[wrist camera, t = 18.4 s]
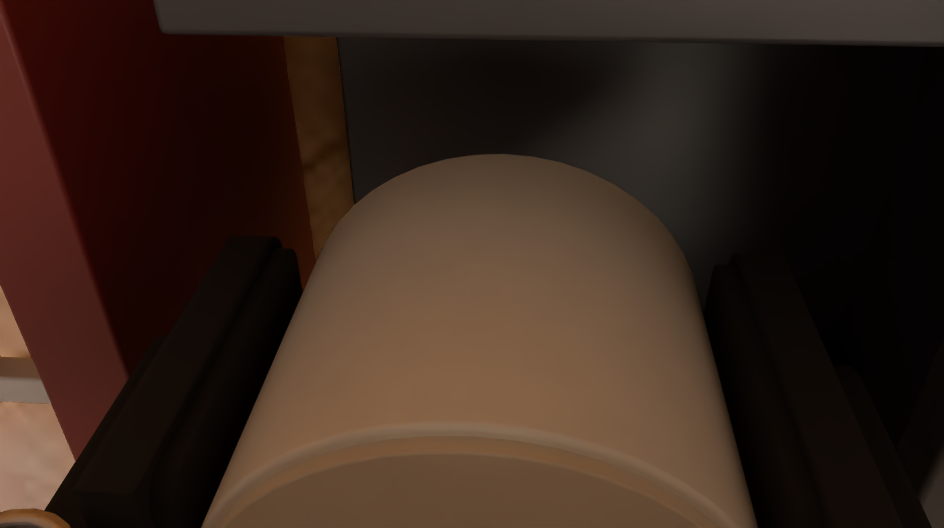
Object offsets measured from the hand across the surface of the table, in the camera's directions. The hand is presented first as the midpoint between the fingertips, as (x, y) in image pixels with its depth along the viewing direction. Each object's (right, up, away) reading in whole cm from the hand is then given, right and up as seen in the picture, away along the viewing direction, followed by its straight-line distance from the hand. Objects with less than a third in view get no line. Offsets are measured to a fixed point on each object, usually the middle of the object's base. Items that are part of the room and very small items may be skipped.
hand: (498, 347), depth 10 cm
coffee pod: (0, 0, 0) cm, 0 cm away
